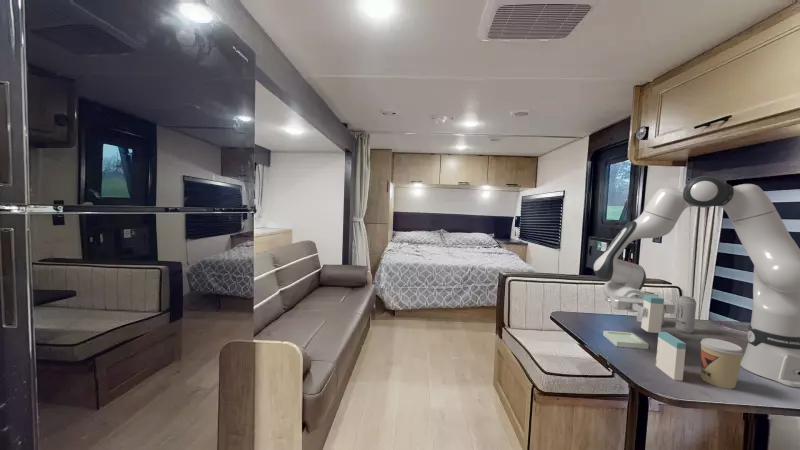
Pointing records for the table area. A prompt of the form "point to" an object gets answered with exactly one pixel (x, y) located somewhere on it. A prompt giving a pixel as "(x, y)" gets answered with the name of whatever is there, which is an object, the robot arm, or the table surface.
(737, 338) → the table surface
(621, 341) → the tray
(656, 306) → the white teal-topped block
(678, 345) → the teal and white box
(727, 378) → the coffee cup
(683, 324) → the energy drink can
